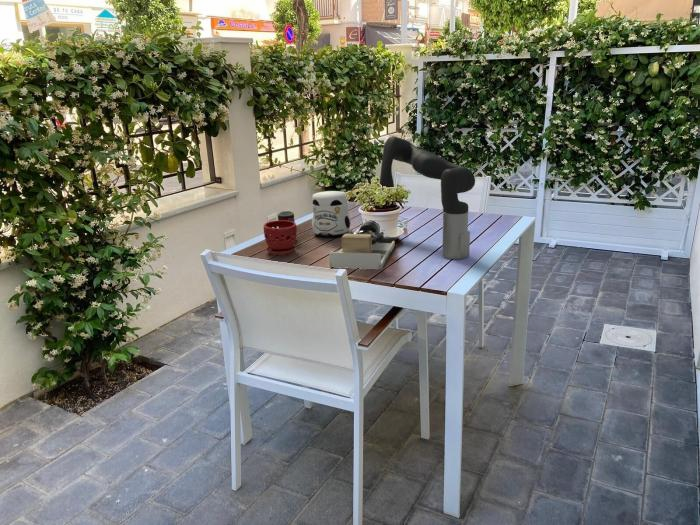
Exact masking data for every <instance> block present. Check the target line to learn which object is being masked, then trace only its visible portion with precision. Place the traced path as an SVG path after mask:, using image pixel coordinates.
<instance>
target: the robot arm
mask: <svg viewBox="0 0 700 525" xmlns="http://www.w3.org/2000/svg"><path fill="white" fill-rule="evenodd" d="M394 161H398V162H402V163H406V164H408V165H410V166H412V168H413V170H414V171H415V172H417V173H418V174H420V175H422V176H424V177H426V178H430V179H434V180H440V193H441V194H440V197H441V201H440V202H441V205H442V250H441V251H442V257H443V258H445V259H448V260H449V259H450V260H463V259H465V258H467V257H469V256H470V251H471V250H470V246H471V245H470V244H471V242H470V240H471V231H468V230H469V204H468V203H467V202H464V201H461V200H459V195H458V194H462V193H468V192H469V191H471V190H473V188H474V187H475V185H476V177H475V174H474V173H473V171H472V170H471V169H469V168H468V167H467V166H463V165H459V164H456V163H453V162H450V161H448V160H447V159H445V158H442V157H441V156H439V155H437V154H435V153H433V152H431V151H429V150H426V149H421V148H419V147H417V146H415V145H414V144H413V143H412V142H410V141H409V140H407V139H404V138H401V137H398V136H394V135H392V136H389V137H388V138H387V140H386V141H385V143H384V145H383V152H382V158H381V165H380V166H381V168H380V175H379V176H380V177H379V182H380V184H381V185H382V187H383V186H386V187H394V188H395V183H394V178H393V172H392V170H393V168H392V167H393V162H394ZM347 234H371V237H372V245H374V244H376V243H383V241H384V238H385V237H384V236H385V235H384V234H385V233H384V231H380V226H379V224H378V223H376V222H375V221H372V220H369V221H366V220H365V222H364V223H363V224H362V225H361V227H360V228H359V230H358V231H357V232H354V231H353V230H352V231H351V230H349V232H347Z"/></svg>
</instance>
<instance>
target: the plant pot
mask: <svg viewBox="0 0 700 525" xmlns="http://www.w3.org/2000/svg"><path fill="white" fill-rule="evenodd" d="M281 226H285V228H281ZM297 227H298V226H297V223H296V222H292V221H286V220H278V219H277V220H271V221H268V222H265V223H264V224H263V235H264V236H263V237H264V240H265V243H266V245H267V247H266V251H267V253H268V254H271V255H273V256H284V255H285V254H286V255H289V254H292V253H293V252H294V251H295V249H296V246H295V243H296V239H297Z"/></svg>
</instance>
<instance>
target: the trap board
mask: <svg viewBox="0 0 700 525" xmlns="http://www.w3.org/2000/svg"><path fill="white" fill-rule="evenodd" d="M395 242H396V241H395V240H392V241H391V242H377V243H376V244H374V245H372V253H347V252H342V248H341V249H340V250H339V251H329V252H328V254H329V268H330V267H341V268H340V269H343V268H344V267H348V268H361V269H360V270H366V269H380V270H379V271H381V270H382V269H383V267H384V265H385V264H386V262H387V260H388V259H389V256H391V255H390V254H391V253H392V251H393V250H394V249H395V248H394V247H395V246H396V245H395Z"/></svg>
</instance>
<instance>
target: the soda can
mask: <svg viewBox="0 0 700 525" xmlns="http://www.w3.org/2000/svg"><path fill="white" fill-rule="evenodd" d="M277 220H286V221H292V222H295V213H294V212H293V211H290V210H289V211H287V210H286V211H280V212H278V214H277ZM295 223H296V222H295ZM281 228H285V226H281Z"/></svg>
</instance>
